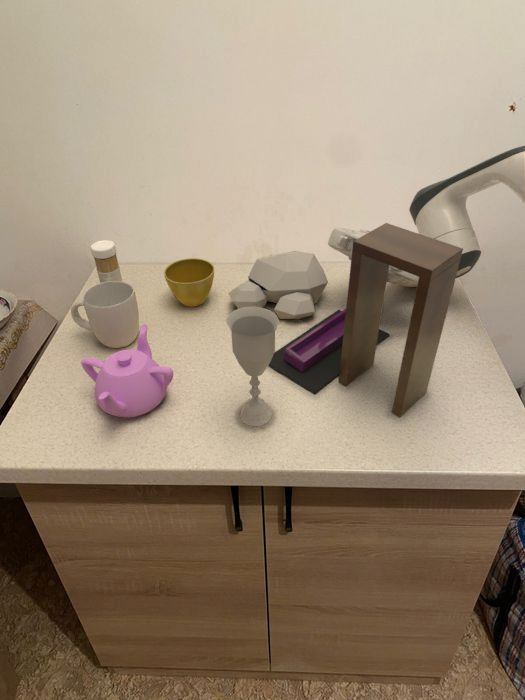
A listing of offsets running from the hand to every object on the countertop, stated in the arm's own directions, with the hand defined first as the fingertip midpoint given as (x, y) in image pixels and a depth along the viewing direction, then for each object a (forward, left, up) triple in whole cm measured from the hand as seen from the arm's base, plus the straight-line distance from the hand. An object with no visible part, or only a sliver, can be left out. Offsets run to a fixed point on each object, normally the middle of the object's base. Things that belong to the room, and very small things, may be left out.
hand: (360, 249), depth 86 cm
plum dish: (+4, +3, -16) cm, 17 cm away
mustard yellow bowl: (+31, -13, -17) cm, 38 cm away
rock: (+13, -12, -17) cm, 25 cm away
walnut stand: (-2, +16, -17) cm, 24 cm away
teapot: (+39, +16, -17) cm, 46 cm away
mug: (+46, -1, -17) cm, 49 cm away
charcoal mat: (+5, +5, -17) cm, 19 cm away
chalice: (+19, +21, -17) cm, 33 cm away
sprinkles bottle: (+47, -13, -17) cm, 52 cm away
